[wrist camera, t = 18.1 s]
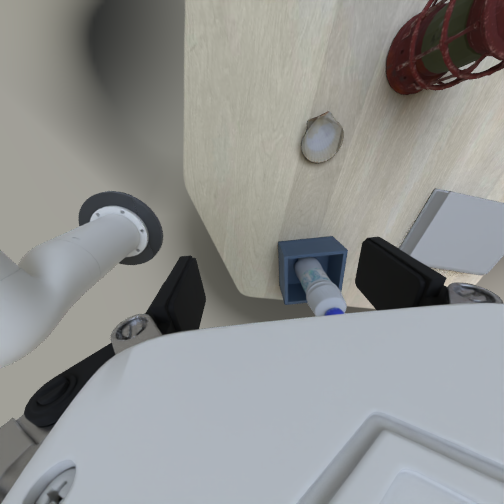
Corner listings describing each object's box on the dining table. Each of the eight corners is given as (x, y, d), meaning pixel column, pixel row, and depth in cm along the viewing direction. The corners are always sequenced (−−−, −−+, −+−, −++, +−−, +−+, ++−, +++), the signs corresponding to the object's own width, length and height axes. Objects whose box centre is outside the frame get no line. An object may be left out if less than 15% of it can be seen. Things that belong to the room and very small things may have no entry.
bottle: (322, 265, 51) (365, 325, 33) (300, 278, 52) (330, 343, 35) (309, 247, 48) (348, 302, 30) (287, 262, 50) (311, 322, 32)
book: (451, 191, 40) (542, 211, 43) (434, 188, 44) (520, 207, 47) (403, 265, 48) (483, 278, 51) (393, 258, 52) (468, 270, 55)
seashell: (302, 164, 42) (342, 154, 39) (303, 168, 39) (346, 158, 37) (297, 119, 37) (343, 105, 35) (298, 121, 34) (347, 106, 32)
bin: (279, 285, 54) (284, 305, 47) (278, 241, 48) (284, 256, 41) (327, 280, 54) (340, 299, 47) (332, 236, 48) (347, 250, 41)
